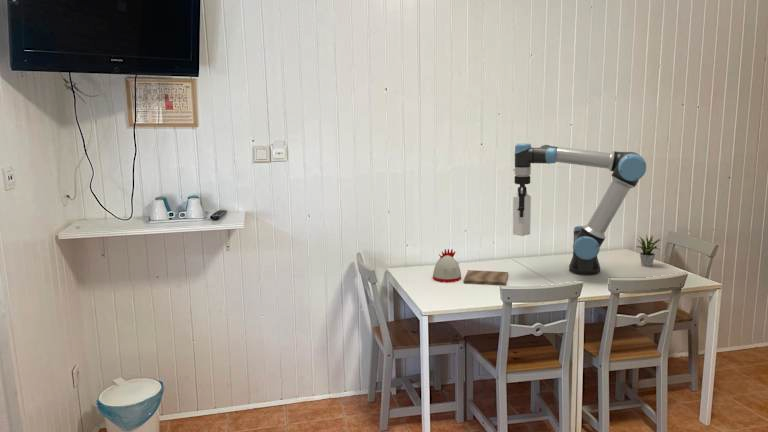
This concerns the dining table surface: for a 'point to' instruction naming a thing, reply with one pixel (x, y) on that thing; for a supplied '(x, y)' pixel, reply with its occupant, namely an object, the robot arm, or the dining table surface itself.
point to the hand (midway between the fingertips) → (521, 221)
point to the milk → (524, 228)
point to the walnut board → (486, 277)
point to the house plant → (647, 252)
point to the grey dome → (447, 268)
